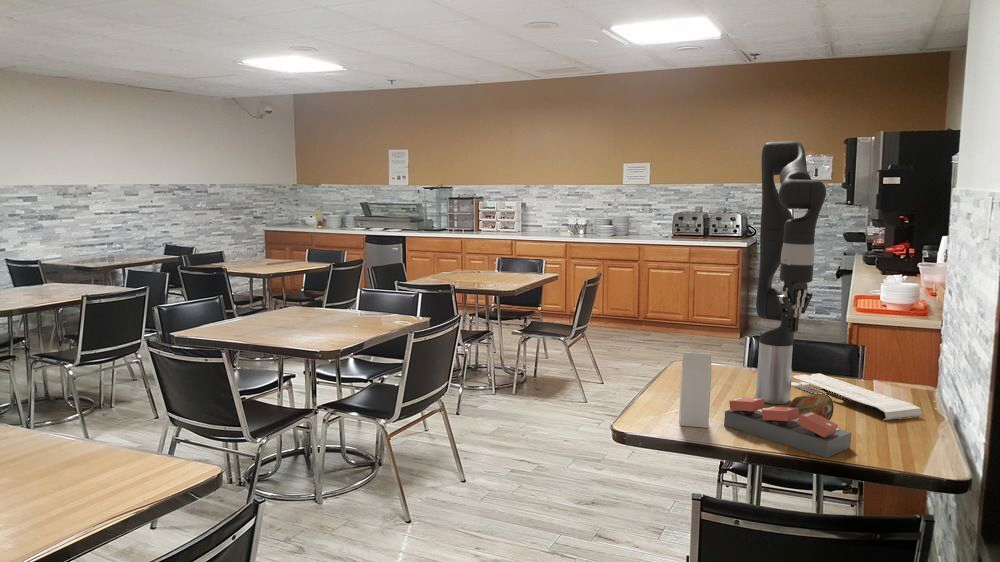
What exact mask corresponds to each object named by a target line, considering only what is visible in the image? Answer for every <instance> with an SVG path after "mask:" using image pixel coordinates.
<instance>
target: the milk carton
mask: <svg viewBox="0 0 1000 562" xmlns="http://www.w3.org/2000/svg"><path fill="white" fill-rule="evenodd" d="M682 355H683V356H682V361H681V362H682V363H681V376H680V393H679V394H680V395H679V412H678V413H679V414H678V419H679V425H680V426H682V427H692V428H693V427H694V428H706V429H707V428H709V421H710V404H711V388H712V386H711V385H712V353H705V352H704V353H703V352H689V351H688V352H687V351H683V353H682Z"/></svg>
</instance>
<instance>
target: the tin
mask: <svg viewBox="0 0 1000 562" xmlns="http://www.w3.org/2000/svg"><path fill="white" fill-rule="evenodd" d="M788 407H791V408H798V410H799V416H800V415H801V414H804V413H807V412H810V411H811V412H813V413H815V414H818V415H820V416H822V417H824V418H826V419H828V420H830V421H831V419H832V417H833V414H834V407H835V406H834V402H833V401H832V399H831V398H830V397H829V396H828V395H825V394H818V393H817V394H812V393H810V394H807V395H802V396H801V395H800V396H797V397H794V398H793V399H792V400H791V401H790V403H789V404H788Z"/></svg>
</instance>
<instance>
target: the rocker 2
mask: <svg viewBox="0 0 1000 562" xmlns="http://www.w3.org/2000/svg"><path fill="white" fill-rule="evenodd" d="M766 408H767V409H763V410H762V417H763V420H777V421H791V420H794V419H797V418H799V410H798V408H791V407H789V406H788V407H787V406H786V407H785V406H771V407H766Z"/></svg>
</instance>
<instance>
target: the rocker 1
mask: <svg viewBox="0 0 1000 562" xmlns="http://www.w3.org/2000/svg"><path fill="white" fill-rule="evenodd" d="M728 402H729V410H740V411H756V410H760V409H763V408H766V405H765V404H766V403H765V402H764V399H761V398H756V397H738V398H735V399H731V400H729V401H728Z"/></svg>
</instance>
